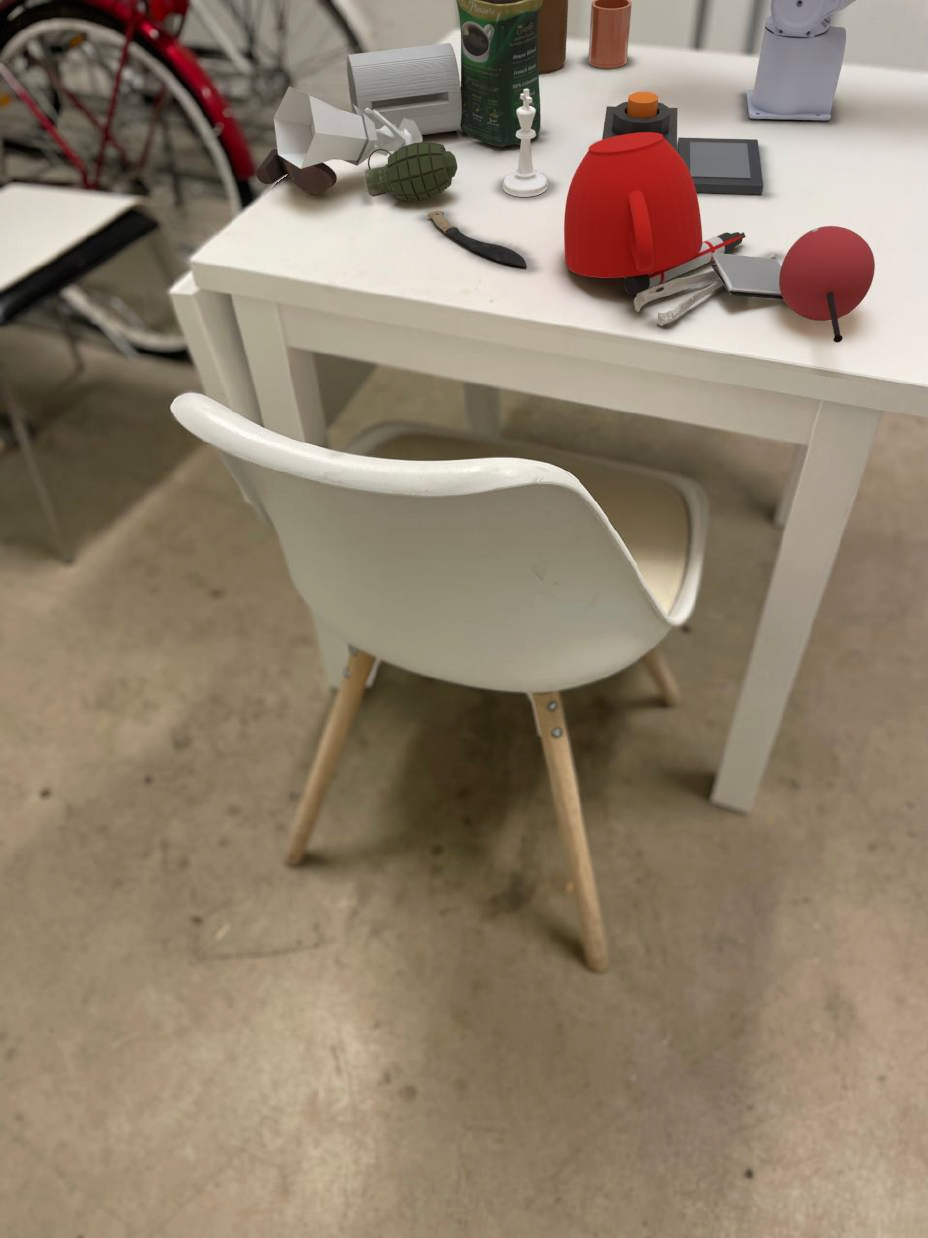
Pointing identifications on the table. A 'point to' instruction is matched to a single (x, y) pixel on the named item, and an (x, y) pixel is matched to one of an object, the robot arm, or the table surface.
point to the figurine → (334, 132)
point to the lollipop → (827, 274)
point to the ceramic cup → (631, 209)
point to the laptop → (748, 275)
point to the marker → (685, 263)
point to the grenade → (413, 172)
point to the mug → (552, 35)
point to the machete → (478, 243)
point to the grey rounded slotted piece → (408, 86)
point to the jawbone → (681, 285)
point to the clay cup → (609, 33)
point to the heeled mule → (296, 173)
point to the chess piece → (525, 157)
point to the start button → (642, 105)
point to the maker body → (641, 123)
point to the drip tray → (723, 164)
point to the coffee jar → (498, 67)
